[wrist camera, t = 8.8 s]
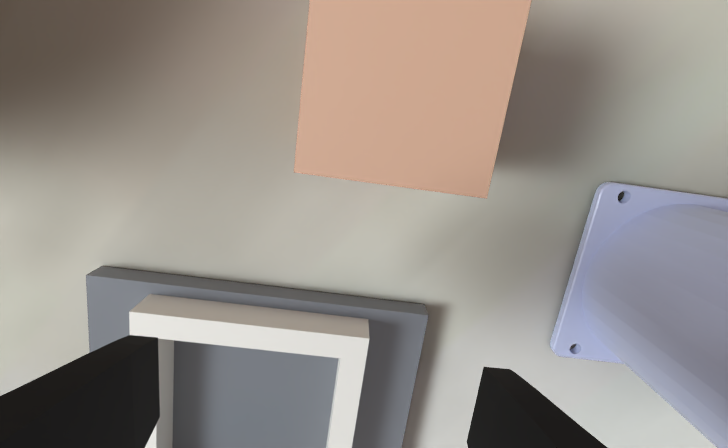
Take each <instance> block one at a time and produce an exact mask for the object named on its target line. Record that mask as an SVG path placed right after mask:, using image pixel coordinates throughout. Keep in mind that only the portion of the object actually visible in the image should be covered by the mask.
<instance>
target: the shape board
mask: <svg viewBox="0 0 728 448" xmlns="http://www.w3.org/2000/svg"><path fill="white" fill-rule="evenodd" d="M86 286H87V307H88V327H89V348H90V352H92V351H95V350H97V349H99V348H101V347H103V346H105V345H107V344H109V343H111V342H114V341H116V340H118V339H121V338H123V337H126V336H128V335H135V336H146V337H157V338H158V357H159V398H160V418H159V420H158V422H157V424H156V426H155V428H154V430H153V432H152V434H151V436H150V438H149V440H148V442H147V444H146V446H145V448H402V443H403V438H404V433H405V428H406V423H407V418H408V413H409V409H410V404H411V399H412V394H413V389H414V384H415V379H416V374H417V369H418V364H419V360H420V355H421V350H422V345H423V340H424V335H425V330H426V325H427V320H428V313H427V310H426V307H425V305H424V304H417V303H408V302H400V301H392V300H383V299H375V298H366V297H358V296H350V295H341V294H333V293H324V292H316V291H308V290H299V289H291V288H282V287H274V286H266V285H257V284H249V283H240V282H232V281H224V280H215V279H207V278H198V277H190V276H182V275H173V274H165V273H156V272H148V271H139V270H131V269H123V268H114V267H106V266H101V267H99V268H97V269H96V270H94V271H92V272H91V273H89V274H87V275H86Z"/></svg>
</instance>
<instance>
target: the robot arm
mask: <svg viewBox="0 0 728 448" xmlns="http://www.w3.org/2000/svg"><path fill="white" fill-rule="evenodd" d="M622 191H623V192H624V197H623V198H622V199H621V200H620V201H618V195H619V193H620V192H622ZM573 344H576V346H575V347H574V348H572V349H570V347H571V346H572V345H573ZM550 347H551V349H552V351H553V352H554V353H555V354H556V355H558V356H561V357H569V358H578V359H586V360H595V361H604V362H613V363H622V364H626V365H627V366H628V367H629V368H630V369H631V370H632V371H633V372H634V373H635V374H637V375H638V376H639V377H640V378H641V379H642V380H643V381H644V382H645V383H646V384H648V385H649V386H650V387H651V388H652V389H653V390H654V391H655V392H656V393H658V394H659V395H660V396H661V397H662V398H663V399H664V400H665V401H666V402H667V403H669V404H670V405H671V406H672V407H673V408H674V409H675V410H676V411H677V412H678V413H680V414H681V415H682V416H683V417H684V418H685V419H686V420H687V421H688V422H689V423H691V424H692V425H693V426H694V427H695V428H696V429H697V430H698V431H699V432H701V433H702V434H703V435H704V436H705V437H706V438H707V439H708V440H709V441H710V442H712V443H713V444H714V445H715V446H716V447H717V448H728V198H721V197H714V196H707V195H700V194H693V193H686V192H679V191H672V190H665V189H658V188H651V187H644V186H636V185H629V184H622V183H615V182H605V183H603V184H601V185H600V186H599V187H598V188H597V190H596V192H595V195H594V198H593V201H592V205H591V208H590V211H589V215H588V218H587V221H586V225H585V228H584V231H583V235H582V238H581V241H580V245H579V248H578V251H577V255H576V258H575V261H574V265H573V268H572V271H571V275H570V278H569V281H568V285H567V288H566V291H565V295H564V298H563V301H562V305H561V308H560V311H559V315H558V318H557V321H556V325H555V328H554V331H553V335H552V338H551V341H550ZM159 418H160V398H159V357H158V338H157V337H146V336H135V335H128V336H126V337H123V338H121V339H118V340H116V341H114V342H111V343H109V344H107V345H105V346H103V347H101V348H99V349H97V350H95V351H92V352H90V353H88V354H86V355H84V356H82V357H80V358H78V359H76V360H74V361H72V362H70V363H68V364H66V365H64V366H62V367H60V368H58V369H56V370H54V371H52V372H50V373H48V374H46V375H43V376H41V377H39V378H37V379H35V380H33V381H31V382H29V383H27V384H25V385H23V386H21V387H19V388H17V389H15V390H13V391H10V392H8V393H6V394H4V395H2V396H0V448H145V446H146V444H147V442H148V440H149V438H150V436H151V434H152V432H153V430H154V428H155V426H156V424H157V422H158V420H159ZM467 444H468V448H607V447H606V446H605V445H603V444H602V443H601V442H600V441H598V440H597V439H596V438H595V437H593V436H592V435H591V434H590V433H588V432H587V431H586V430H585V429H584V428H582V427H581V426H580V425H579V424H577V423H576V422H575V421H574V420H573V419H571V418H570V417H569V416H568V415H567V414H565V413H564V412H563V411H562V410H560V409H559V408H558V407H557V406H556V405H554V404H553V403H552V402H551V401H550V400H548V399H547V398H546V397H545V396H544V395H542V394H541V393H540V392H539V391H538V390H536V389H535V388H534V387H533V386H531V385H530V384H529V383H528V382H526V381H525V380H524V379H523V378H521V377H520V376H519V375H517V374H516V373H515V372H513V371H512V370H510V369H500V368H489V367H484V368H483V373H482V377H481V382H480V386H479V390H478V395H477V399H476V404H475V408H474V412H473V417H472V421H471V426H470V430H469V434H468V439H467Z"/></svg>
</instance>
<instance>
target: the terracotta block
mask: <svg viewBox="0 0 728 448" xmlns="http://www.w3.org/2000/svg"><path fill="white" fill-rule="evenodd" d="M531 1H532V0H310V3H309V14H308V24H307V35H306V46H305V57H304V68H303V78H302V89H301V100H300V111H299V122H298V132H297V143H296V154H295V165H294V172H295V173H302V174H310V175H317V176H324V177H332V178H339V179H346V180H354V181H361V182H369V183H376V184H383V185H391V186H398V187H406V188H413V189H420V190H428V191H435V192H443V193H450V194H457V195H465V196H472V197H479V198H487V195H488V191H489V186H490V182H491V178H492V173H493V169H494V164H495V160H496V155H497V151H498V147H499V142H500V138H501V133H502V129H503V124H504V120H505V116H506V111H507V107H508V102H509V98H510V94H511V89H512V85H513V80H514V76H515V71H516V67H517V63H518V58H519V54H520V49H521V45H522V40H523V36H524V32H525V27H526V23H527V18H528V14H529V9H530V5H531Z"/></svg>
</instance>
